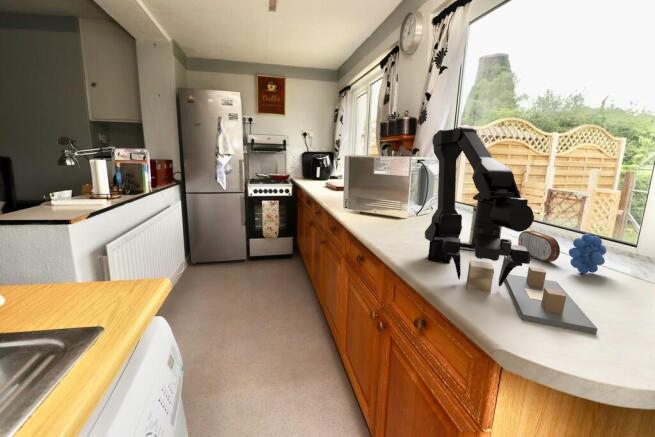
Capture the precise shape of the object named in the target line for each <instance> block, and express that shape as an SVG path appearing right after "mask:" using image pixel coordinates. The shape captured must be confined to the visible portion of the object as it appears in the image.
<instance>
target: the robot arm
mask: <svg viewBox="0 0 655 437" xmlns="http://www.w3.org/2000/svg"><path fill="white" fill-rule="evenodd" d="M431 143H432V145H433V146H432V147H433V154H434V156H435V157H436V159H437V160H438V180H437V181H438V185H437V187H438V188H437V189H438V190H437V208H436V210H435V212H434V213H433V214H432V216H431V222H430V225H429V226H428V227H427V228H426V229H425V231H424V239H425V240H427V241H429V245H428V246H429V247H428V254H427V258H426V259H427V261H431V262H438V263H444V264H450V262H451V261H452V260H453V263H454V266H455V270H456V274H457V279H458V280H461V275H462V274H461V251H467V252H473V253H474V257H475V258H477V259H480V260H482V259H484V260H491V261H495V262H496V261H499V260H500V256H502V257H503V261H502V265H501V269H500V271H499V272H500V273H499V277H498V284H497V285H498V286H499V287H502V285H503V283H504V282H505V279H506V277H507V276H508V274H510V273H511V271H513V270H514V269H515V268H516V267H522V266H523V264H524V265H525V264H526V265H530V263H531V259H532V257H531V253H530V252H529V251H528V250H527V249H526V248H525V247H524V246H519V245H518V244H517V245H516V244H512V243H513V242H512V240H511V239H509V238H501V236H500V229H501V226H502V228H504V229H505V228H506V229H507V230H511V231H514V232H519V233H522V232H524V231H528V229H530V227H531V226H532V224H533V223H534V219H535V215H534V212H533V209H532V208H531V206H528V202H529V200H528V198H522V197H521V192H520V190H519V187H518V186H517V183H516V180H515V175H514V173H513V171H512V170H511V169H510V168H508V166H507V165H506V164H505V163H502V162H500V161H498V160H496V159H495V157H494V158H493V156H492V154H491V153H490V151H489V150H488V149H487V147H486V145H485V144H484V143H483V142H482V140H481V138H480V137H479V135H478V132H477V129H476V128H474V127H470V126H469V127H467V126H458V127H456V128H451V129H439V130H438V131H437V132H436V133H434V134H433V137H432V142H431ZM462 153H463V154H464V156H465V158H466V160H467V161H468V163H469V164H470V166H471V168H472V170H473V173H472V181H473V184H474V187H475V188H476V191H478V193H477V194H474V196H473V197H472V199H473V200H474V201H477V203H476V206H477V208H476V215H475V222H474V229H473V236H472V243H471V244H470V243H469V242H462V241H461V238H460V235H461V233H462V229H463V225H462V224H463V223H462V220H463V216H462V214H461V213H458V211H457V209H456V189H457V188H456V185H457V184H456V183H457V160H458V158H459V157H460V155H461V154H462Z"/></svg>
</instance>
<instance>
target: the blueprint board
mask: <svg viewBox="0 0 655 437" xmlns="http://www.w3.org/2000/svg"><path fill="white" fill-rule="evenodd" d="M526 274H527V275H526V276H522V275H515V274H510V273H509V274H508V276H507V277H506V279H505V281H504V282H505V285H506V286H507V289H508V291H509V293H510V295H511V297H512V298H511V299H512V301H513V303H514V304H515V306H516V308H517V311H518V314H519V316H520V318H521V320H522V321H527V322H531V323H535V324H540V325H541V324H542V325H546V326H550V327H551V326H552V327H557V328H563V329H567V330H571V331H577V332H582V333H587V334H592V335H597V334H598V327H597V326H596V325H595V324H594V323H593V321H592V320H591V319H590V318H589V316H587V315H586V313H585V312H584V311H583V310H582V309H581V308H580V307H579V306H578V304H577V303H576V302H575V301H574V299H572V297H571V296H570V295H569V294H568V293H567V291H565V289H564V288H563V287H562V286H561V285H560V283H559V282H558V281H554V280H548V279H546V275H547V272H546V270H545V269H544V268H542V267H536V266H528V269H527V273H526Z"/></svg>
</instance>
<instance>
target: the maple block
mask: <svg viewBox="0 0 655 437" xmlns="http://www.w3.org/2000/svg"><path fill="white" fill-rule="evenodd" d="M492 263H493V262H489V261H481V260H480V261H479V260H475V259H474V260H473V259H469V263H468V269H467V270H468V271H467V278H466V286H467V289H468V290H471V291H477V292H483V293H489V294H491V293H492V292H491V291H492V286H493V285H492V284H493V280H494V273H495V268H494V266H493V264H492Z"/></svg>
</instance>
